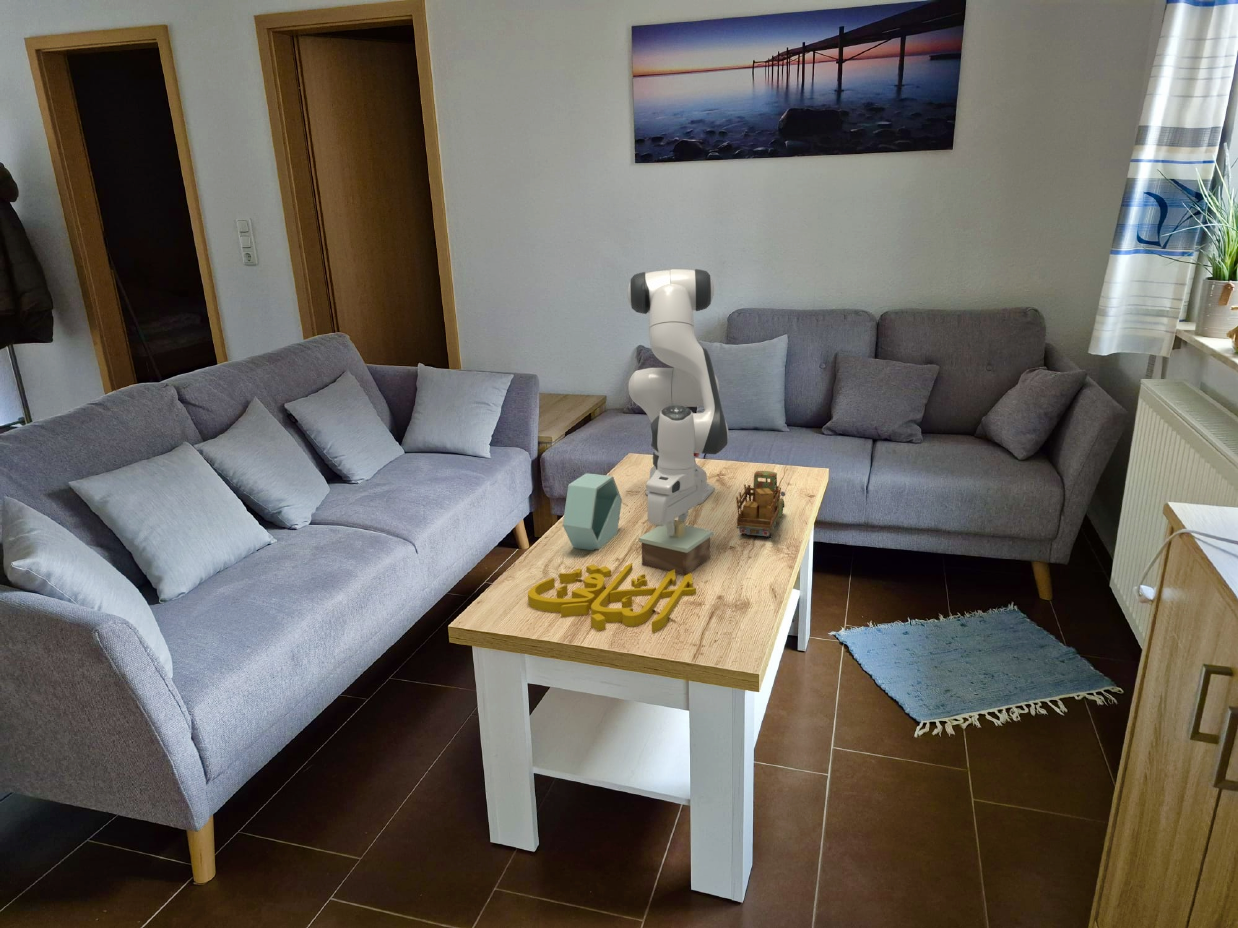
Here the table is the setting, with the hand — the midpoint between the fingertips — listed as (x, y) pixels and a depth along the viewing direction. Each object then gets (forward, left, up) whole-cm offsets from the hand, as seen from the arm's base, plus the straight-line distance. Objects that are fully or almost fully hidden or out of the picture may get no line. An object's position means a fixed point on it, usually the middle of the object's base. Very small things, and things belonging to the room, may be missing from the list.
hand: (676, 531), depth 202 cm
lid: (0, 0, -2) cm, 2 cm away
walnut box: (0, 0, -9) cm, 9 cm away
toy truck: (-33, +7, -9) cm, 35 cm away
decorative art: (+23, -3, -9) cm, 25 cm away
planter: (-1, -25, -9) cm, 27 cm away
